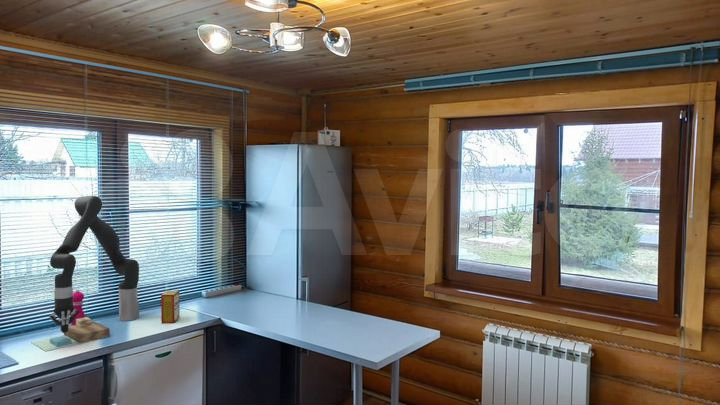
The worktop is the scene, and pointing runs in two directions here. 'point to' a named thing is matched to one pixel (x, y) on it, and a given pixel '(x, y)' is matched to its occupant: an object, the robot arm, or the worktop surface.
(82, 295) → the pepper mill
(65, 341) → the teal sponge
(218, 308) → the worktop surface
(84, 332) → the brown shallow rectangular piece
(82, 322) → the block
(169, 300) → the baking soda box
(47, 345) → the mat
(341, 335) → the worktop surface
